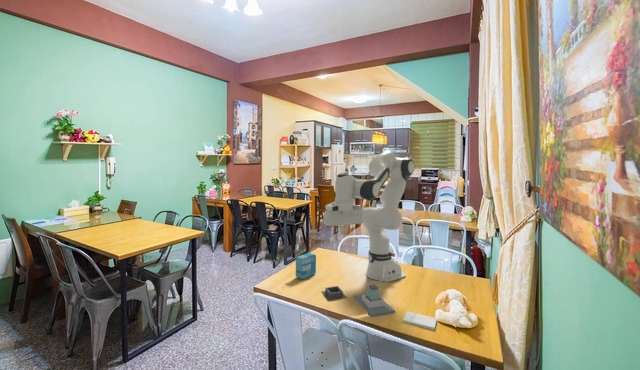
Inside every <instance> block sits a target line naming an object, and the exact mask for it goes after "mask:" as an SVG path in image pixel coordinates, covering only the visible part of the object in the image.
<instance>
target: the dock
mask: <svg viewBox="0 0 640 370" xmlns="http://www.w3.org/2000/svg"><path fill="white" fill-rule="evenodd" d="M352 297H353V298H354V299H355V300H356V301H357V303H358V304H359V305H361V306H362V308H363V309H365V311H366V312H367V316H369V317H370V318H374V317H375V318H376V317H381V316H386V315H391V314H395V313H396V310H395V309H394V308H393V307H392V306H390V305H389V304H388V303H387V302H386V300H385V299H384V298H383V297H381V296H380V295H379V300H378V301H372V302H370V301H369V300H368V299H367V293H364V294H363V293H362V294H357V295H352Z"/></svg>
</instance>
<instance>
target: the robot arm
mask: <svg viewBox="0 0 640 370" xmlns="http://www.w3.org/2000/svg"><path fill="white" fill-rule="evenodd" d="M368 171H369V174H370V175H371V176H372V177H374V178H372V179H360V178H356V177H354V176H353V174H352V173H351V172H341V173H338V174H337V175H336V178H335V182H334V184H335V185H334V192H335V197H334V201H333V202H331V203H328V204H326V205H325V208H324V209H325V211H324V213H323V218H322V219H323V223H322V224H324V226H326V227H336V226H337V227H338V229H339V234H340V235H345V234H347V232H348V229H349V227H350V225H361V224H362V225H363V226H364V228H365V229H366V232H367V234H368V237H369V238H368V239H369V241H368V242H369V250H368V265H367V269H366V272H365V276H366V277H367V278H369V279H371V280H373V281H374V280H376V281H382V282H384V283H385V282H386V283H388V282H392V281H395V280H399V279H403V278H406V273H405V272H404V271H403V270H402V266H401V265H400V263H398V261H396V260H395V257H396V253H394V252H391V251H390V238H389V236H388V235H387V234H386V233H385V232H384V230H387V231H396V230H399V229H400V228H402V225H403V222H404V221H403V216H402V214H401V212H399V204H400V202H401V199H402V196H403V195H404V193H405V190H406V184H407V182H406V180H408V179H410V177H411V176H412V175H413V173H414V172H415V163H414V161H413V159H412V158H409V157H408V158H407V157H404V158H402V157H396V155H395V153H394V152H393V151H391V150H385V151H383V152H381V153H378V154H377V155H376V156H375V157H373V159H371V161H370V162H369V163H368ZM389 177H390V178H389ZM388 179H389V180H388ZM387 180H388V182H387ZM386 182H387V183H386ZM385 184H386V185H385ZM384 185H385V187H384V188H383V186H384ZM382 188H383V191H382V193H381V194H380V191H381V189H382ZM379 194H380V197H379V201H380V204H381V205H383V207H382V208H381V207H373V206H372V207H371V206H369V207H362V205H360V204H354V199H353V198H355V199H361V200H366V201H370V202H371V201H374V200H376V198H378V196H379ZM343 226H345V227H344V228H343Z"/></svg>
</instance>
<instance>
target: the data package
mask: <svg viewBox="0 0 640 370" xmlns="http://www.w3.org/2000/svg"><path fill="white" fill-rule="evenodd" d="M316 271H317V255H316V254H314V253H312V252H308V253H305V254H301V255H299V256H296V258H295V277H296V278H297V279H300V280H304V279H307V278H311V277H312V276H315V274H316Z"/></svg>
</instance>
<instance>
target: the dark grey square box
mask: <svg viewBox="0 0 640 370" xmlns="http://www.w3.org/2000/svg"><path fill="white" fill-rule="evenodd" d="M321 294H322V295H323V296H324V297H325V299H326V300H327V301H328V302H331V301H337V300H338V301H339V300H343V299H348V296H347V295H346V294H345V293H344V291H343V290H342V289H341V288H340V286H338V285H336V286H335V285H334V286H328V287H325V289H324V290H323V291H321Z"/></svg>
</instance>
